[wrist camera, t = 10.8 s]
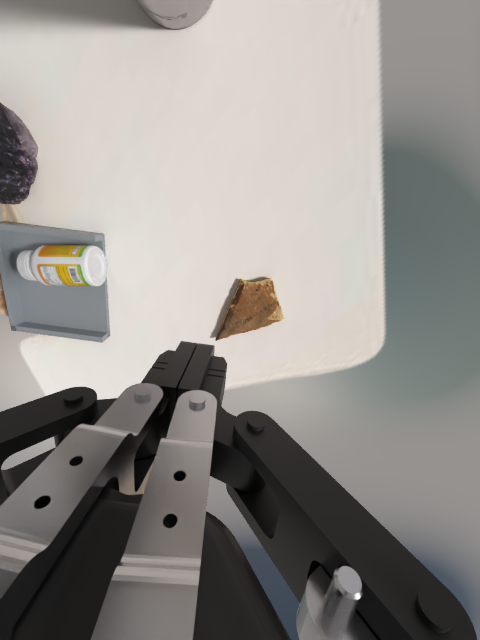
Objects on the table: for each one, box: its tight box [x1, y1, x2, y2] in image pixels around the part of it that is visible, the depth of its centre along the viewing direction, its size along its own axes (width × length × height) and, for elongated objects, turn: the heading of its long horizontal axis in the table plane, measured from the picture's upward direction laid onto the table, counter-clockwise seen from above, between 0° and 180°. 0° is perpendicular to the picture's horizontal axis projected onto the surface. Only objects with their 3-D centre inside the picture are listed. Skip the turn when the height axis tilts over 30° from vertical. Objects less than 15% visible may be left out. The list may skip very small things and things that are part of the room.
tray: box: [0, 221, 110, 342], centre depth 42 cm, size 16×14×2 cm
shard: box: [216, 278, 284, 340], centre depth 43 cm, size 11×8×2 cm
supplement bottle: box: [17, 245, 107, 286], centre depth 39 cm, size 5×5×10 cm
